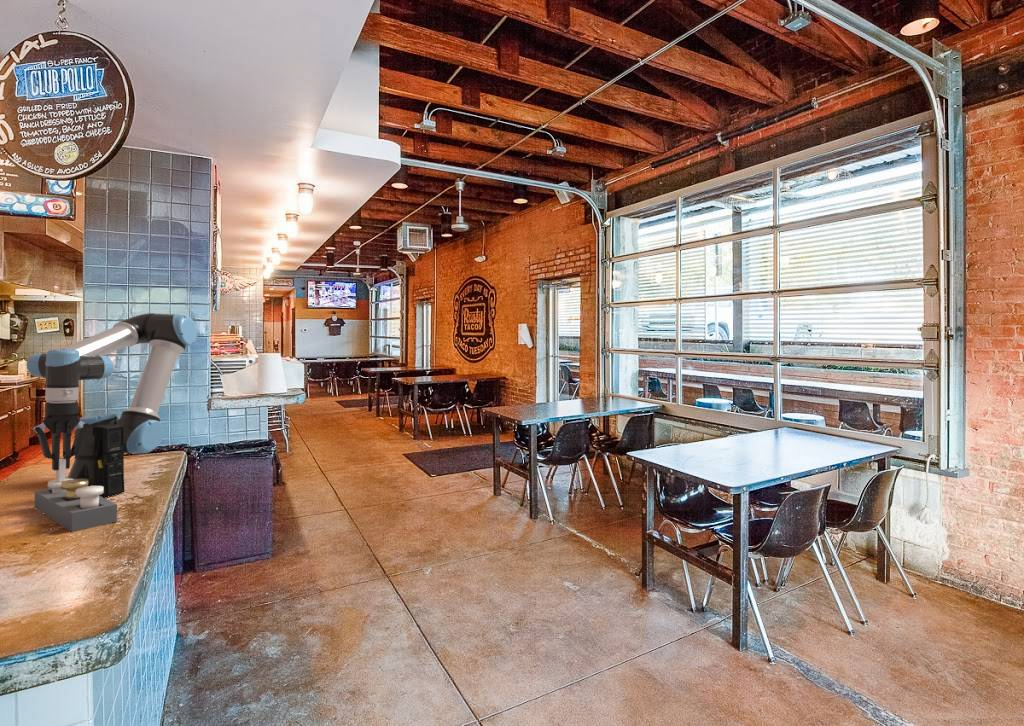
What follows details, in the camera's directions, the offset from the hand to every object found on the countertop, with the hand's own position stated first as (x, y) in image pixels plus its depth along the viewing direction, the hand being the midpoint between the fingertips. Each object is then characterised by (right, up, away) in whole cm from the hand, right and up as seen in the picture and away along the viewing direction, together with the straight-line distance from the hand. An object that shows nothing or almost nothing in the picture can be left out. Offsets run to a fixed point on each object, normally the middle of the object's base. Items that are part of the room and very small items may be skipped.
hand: (60, 480), depth 156 cm
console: (+9, -9, -6) cm, 14 cm away
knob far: (+18, -6, -12) cm, 22 cm away
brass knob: (+9, -5, -6) cm, 12 cm away
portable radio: (+4, -8, +13) cm, 16 cm away
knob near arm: (0, -6, 0) cm, 7 cm away
